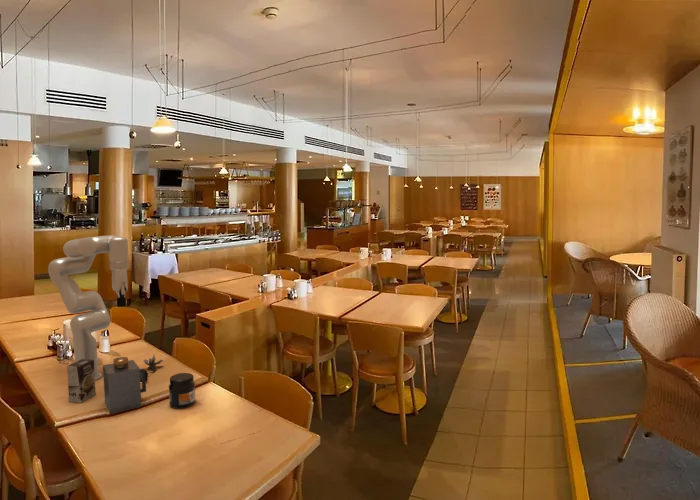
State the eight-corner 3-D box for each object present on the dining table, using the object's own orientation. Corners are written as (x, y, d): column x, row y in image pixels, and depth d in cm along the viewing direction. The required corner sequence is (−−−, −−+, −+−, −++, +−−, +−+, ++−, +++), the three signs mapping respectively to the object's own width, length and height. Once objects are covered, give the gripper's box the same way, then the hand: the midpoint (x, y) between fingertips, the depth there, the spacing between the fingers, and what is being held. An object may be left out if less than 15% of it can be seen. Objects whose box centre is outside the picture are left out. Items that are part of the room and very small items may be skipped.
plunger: (108, 399, 210) (105, 358, 208) (132, 394, 216) (130, 353, 214) (112, 408, 202) (110, 365, 200) (137, 402, 208) (135, 360, 206)
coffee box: (81, 403, 211) (79, 366, 209) (68, 401, 212) (66, 365, 210) (96, 394, 220) (94, 359, 218) (83, 393, 221) (81, 358, 219)
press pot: (104, 403, 211) (102, 365, 209) (142, 395, 220) (141, 358, 217) (110, 414, 201) (108, 374, 199) (149, 404, 210) (147, 366, 208)
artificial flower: (130, 386, 233) (125, 365, 233) (153, 373, 255) (148, 355, 255) (148, 381, 232) (143, 360, 232) (169, 369, 255) (164, 350, 255)
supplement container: (198, 405, 209) (197, 378, 208) (172, 411, 204) (171, 383, 202) (192, 396, 218) (191, 370, 217) (167, 401, 213) (166, 375, 211)
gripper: (107, 263, 221) (109, 304, 223) (113, 268, 209) (115, 310, 211) (125, 262, 225) (127, 301, 227) (132, 266, 213) (134, 308, 215)
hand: (121, 306), depth 219 cm, fingers closed
